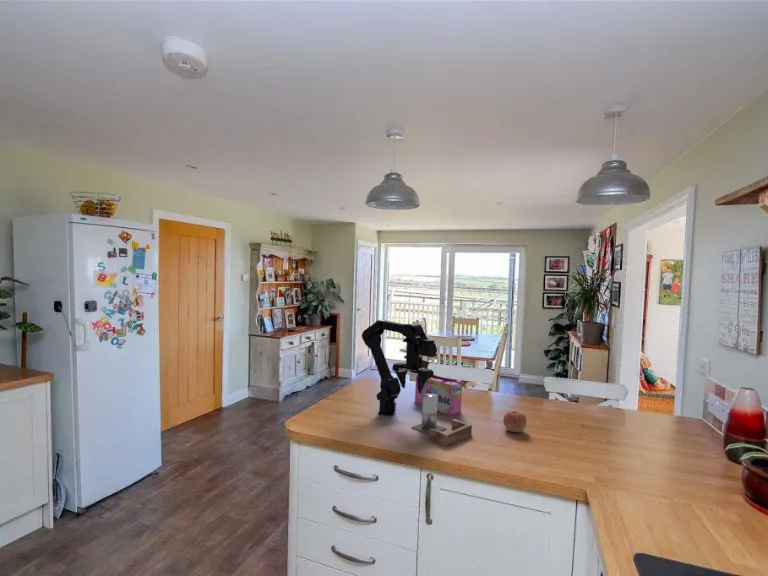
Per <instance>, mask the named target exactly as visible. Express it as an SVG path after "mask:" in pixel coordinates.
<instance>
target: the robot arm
mask: <svg viewBox="0 0 768 576" xmlns="http://www.w3.org/2000/svg"><path fill="white" fill-rule="evenodd" d="M385 331H390V332H394V333H398V334H401V335H402V336H404V337H405V338H403V340H402V342H403V343H406V355H404V357H403V359H405V363H404V362H396V363H393V365H392V371H393V372H394V373H395V375H396V376H397V377H396V376H395V377H394V376H393V375H392V373H391V371H390V367H389V365H388V362H387V360H386V357H385V353H384V351H383V349H382V345H381V343H382V335H384V332H385ZM361 339H362V342H363V343H364V344H365V346H366V347H367V348H368V349H369V350H370V352H371V355H372V357H373V360H374V363H375V366H376V369H377V372H378V374H379V377H380V383H379V384H380V385H379V387H380V391H378V393H377V394H375V395H376V400H377V401H379V405H378V406H379V409H378V410H379V411H378V412H377V413H378V415H384V416H393V415H394V414H395V413H396V411H397V403H396V399H398V397H399V395H400V394H401V391H402V390H401V389H405V388H406V379H407V378H406V377H407V374H408V372H409V373H413V374H417V375H418V378H417V383H418V391H419V393H421V392H422V390H423V387H424V385H425V383H426V381H427V380H428V379H430V378H431V377H434V375H435V374H434V371H433V369H429V368H428V367H429V365H430V361H427V360H424V359H423V356H424V357H427V358H434V357H436V355H437V353H438V347H437V345H436V343H435V340H433V339H432V340H431V339H430V340H429V338H428V336H427V334H426V333H425V331H424V329H423V326H422V324H420V323H401V322H396V321H390V320H386V319H378V320H376V321H375V322H374V323H373V324H371V325H370V326H369V327H367V328H366V329H364V330H363V331H362V334H361Z"/></svg>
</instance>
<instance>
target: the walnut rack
mask: <svg viewBox="0 0 768 576" xmlns="http://www.w3.org/2000/svg"><path fill="white" fill-rule="evenodd" d="M472 429H473V424H470V423H467V422H463V421H461V420H458V419H454V418H453V419H451V430H450V431H448V432H445V431H439V430H436V429H434V428H430V429H429V435H428V440H430V441H433V442H434V443H438V444H440V445H442V446H444V447H449V446H451V445H453V444H456V443H457V441H458V442H459V441H462V440H464V439H466V438H469V437H471V436H472Z"/></svg>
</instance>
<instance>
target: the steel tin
mask: <svg viewBox="0 0 768 576" xmlns="http://www.w3.org/2000/svg"><path fill="white" fill-rule="evenodd" d="M437 398H438V396H437V395H435V394H423V397H422V405H421V423H420V424H421V428H422V429H424V430H429V429H430V428H434V429H436V425H437V420H438V419H437V418H438V410H437Z"/></svg>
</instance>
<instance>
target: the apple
mask: <svg viewBox="0 0 768 576" xmlns="http://www.w3.org/2000/svg"><path fill="white" fill-rule="evenodd" d="M502 422H503V425H504V427H505V429H506V430H508V431H509V432H511V433H522V432H524V430H525V429H526V427H527V416H526V415H525V414H524V413H523V412H522V411H519V410H509V411H507V412H506V413H505V414H504V416H503V421H502Z"/></svg>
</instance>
